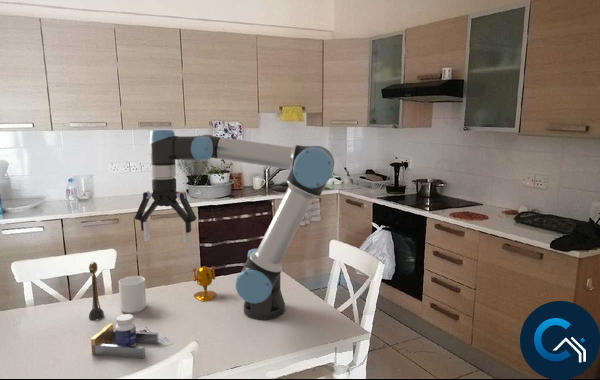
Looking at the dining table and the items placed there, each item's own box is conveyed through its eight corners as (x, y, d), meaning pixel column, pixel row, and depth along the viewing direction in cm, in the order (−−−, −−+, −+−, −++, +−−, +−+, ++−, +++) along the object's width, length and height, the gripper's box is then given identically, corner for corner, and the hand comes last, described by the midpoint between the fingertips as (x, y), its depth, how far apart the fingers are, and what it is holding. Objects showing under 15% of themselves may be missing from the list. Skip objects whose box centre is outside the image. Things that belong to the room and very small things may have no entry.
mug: (142, 314, 156) (140, 284, 155) (116, 314, 156) (115, 284, 154) (151, 300, 168) (149, 272, 167) (127, 301, 168) (126, 273, 166)
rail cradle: (158, 341, 137) (157, 326, 136) (143, 358, 127) (142, 342, 127) (110, 338, 139) (109, 323, 138) (92, 354, 129) (90, 338, 129)
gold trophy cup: (214, 290, 179) (213, 261, 178) (217, 300, 169) (216, 270, 167) (193, 292, 177) (192, 263, 175) (194, 302, 167) (194, 272, 165)
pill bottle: (135, 351, 131) (134, 320, 130) (115, 354, 130) (113, 322, 128) (137, 342, 137) (135, 312, 135) (117, 344, 135) (115, 314, 134)
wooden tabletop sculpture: (101, 320, 151) (98, 264, 148) (87, 322, 150) (83, 265, 147) (105, 313, 157) (101, 259, 154) (90, 314, 156) (87, 260, 153)
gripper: (204, 177, 144) (206, 239, 148) (133, 175, 148) (136, 236, 151) (196, 180, 137) (198, 245, 140) (121, 178, 140) (125, 242, 143)
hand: (166, 241), depth 146 cm, fingers open, 13 cm apart
